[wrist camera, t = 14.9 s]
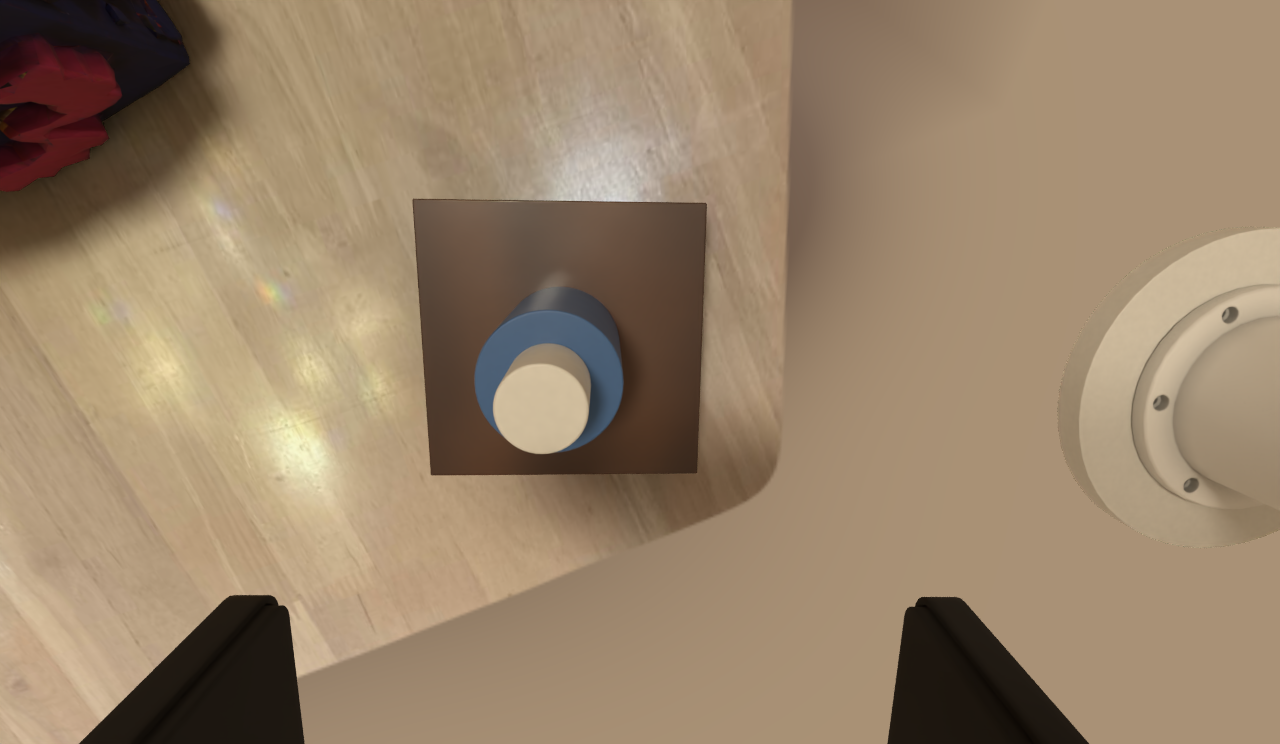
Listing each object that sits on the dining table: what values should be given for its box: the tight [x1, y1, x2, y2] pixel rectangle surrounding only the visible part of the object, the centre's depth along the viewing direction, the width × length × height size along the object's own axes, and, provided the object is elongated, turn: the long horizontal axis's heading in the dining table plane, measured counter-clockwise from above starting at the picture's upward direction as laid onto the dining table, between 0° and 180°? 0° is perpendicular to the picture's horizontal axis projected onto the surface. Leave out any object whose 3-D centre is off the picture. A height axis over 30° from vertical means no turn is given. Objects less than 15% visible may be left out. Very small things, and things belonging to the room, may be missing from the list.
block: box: [413, 199, 707, 475], centre depth 31 cm, size 12×12×4 cm
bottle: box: [474, 287, 624, 454], centre depth 24 cm, size 5×5×10 cm
